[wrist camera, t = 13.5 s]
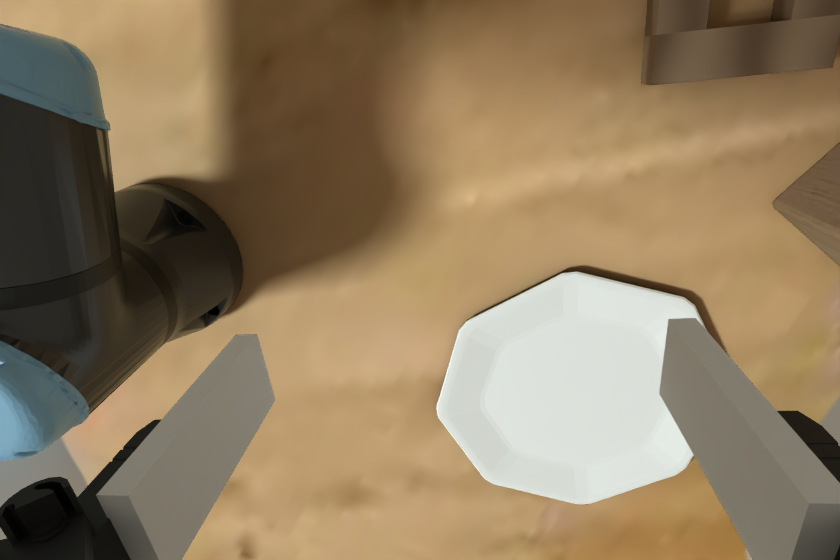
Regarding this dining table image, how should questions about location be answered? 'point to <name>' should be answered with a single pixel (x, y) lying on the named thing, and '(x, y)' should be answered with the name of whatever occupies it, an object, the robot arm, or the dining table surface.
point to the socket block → (737, 41)
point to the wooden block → (816, 204)
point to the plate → (567, 389)
